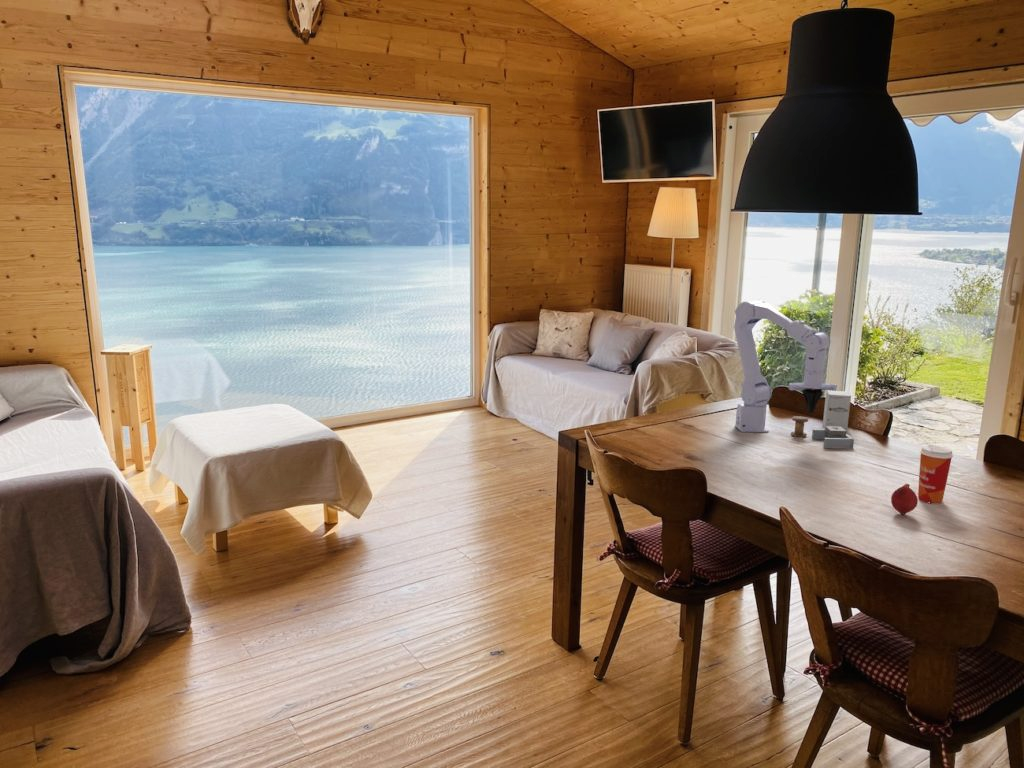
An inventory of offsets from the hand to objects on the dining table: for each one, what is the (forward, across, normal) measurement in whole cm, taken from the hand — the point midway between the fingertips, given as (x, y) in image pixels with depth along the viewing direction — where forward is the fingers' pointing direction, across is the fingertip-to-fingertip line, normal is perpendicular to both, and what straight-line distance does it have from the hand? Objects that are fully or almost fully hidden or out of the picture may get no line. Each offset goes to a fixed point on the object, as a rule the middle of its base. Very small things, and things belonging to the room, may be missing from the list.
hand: (810, 411), depth 247 cm
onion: (+10, +2, -60) cm, 61 cm away
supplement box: (+10, +16, +18) cm, 26 cm away
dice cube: (+11, +9, 0) cm, 14 cm away
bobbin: (+10, 0, +8) cm, 13 cm away
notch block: (+10, +8, 0) cm, 13 cm away
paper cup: (+10, +14, -50) cm, 53 cm away
